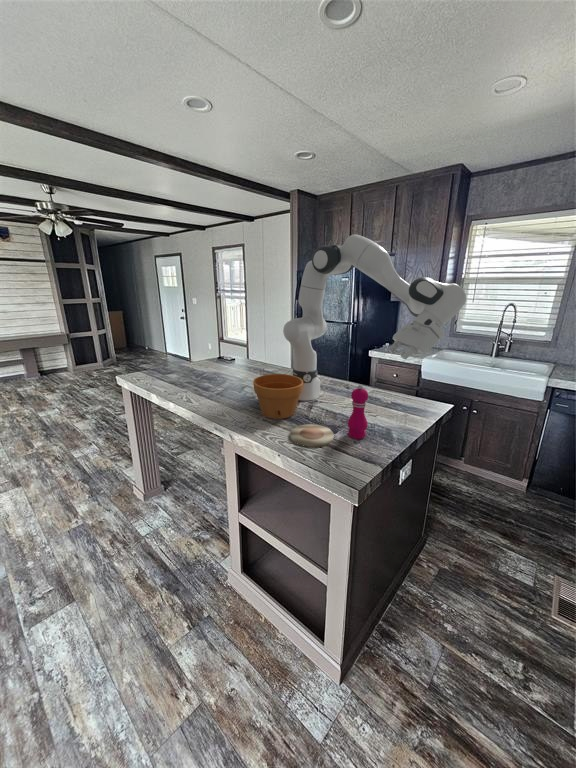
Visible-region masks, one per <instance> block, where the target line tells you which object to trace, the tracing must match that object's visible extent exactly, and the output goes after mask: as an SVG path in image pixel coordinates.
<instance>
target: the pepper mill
mask: <svg viewBox="0 0 576 768" xmlns="http://www.w3.org/2000/svg"><path fill="white" fill-rule="evenodd" d="M350 396H351V399H352V401H351V402H352V403H351V405H352V412H351V414H350V416H349V418H348V421H347V427H348V432H347V433H348V436H349V437H350V438H352V439H355V440H356V439H357V440H360V439H364V438H365V437H366V430H367V428H368V420H367V417H366V415H365V407H367V401H368V399H369V392H368V391H367V389H365V388H364V387H363V385H362V384H358V385H357V387H356V388H355V389H353V390H352V392H351V395H350Z"/></svg>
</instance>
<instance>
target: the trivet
mask: <svg viewBox="0 0 576 768" xmlns="http://www.w3.org/2000/svg"><path fill="white" fill-rule="evenodd" d="M289 433H290V434H289V435H290V436H291V437H290V440H291V439H292V440H293V441H294V442H293V441H292V440H291V441H292V442H293V443H295V442H296V443H298V444H300V445H299V446H301V445H304V446H303V447H305V446H309V447H308V448H320V446H322V447H325V446H327V445H330V444H332V442H333V441H334V437H335V436H334V432H333V431H332V429H330V428H329V427H326V426H324V425H320V424H310V423H309V424H308V423H307V424H300V425H298V426H296V427H294V428H293V429H292V430H291V431H290V432H289ZM296 443H295V444H296ZM298 444H297V445H298Z"/></svg>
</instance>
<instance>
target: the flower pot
mask: <svg viewBox="0 0 576 768" xmlns="http://www.w3.org/2000/svg"><path fill="white" fill-rule="evenodd" d="M252 382H253V389H254V390H253V391H254V393H255V394H256V397H257V400H258V403H259V408H260V412H261V414H262V415H263V417H266V418H269V419H272V418H273V420H281V419H283V420H284V419H287V418H290V417H292V416H294V414H295V413H296V409H297V405H298V402H299V400H298V399H299V395H300V394H301V393H302V389H303V380H302V379H301V378H299V377H296V376H293V374H284V373H270V374H269V373H267V374H264V375H260V376H257V377H255V378H254V379H253V381H252Z"/></svg>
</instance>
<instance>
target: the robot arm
mask: <svg viewBox="0 0 576 768" xmlns="http://www.w3.org/2000/svg"><path fill="white" fill-rule="evenodd" d="M353 268H356V269H357V270H359V271H360V272H362V273H363V274H365V275H366V276H368V277H369V278H371V279H372V280H374V281H375V282H377V283H378V284H379V285H381V286H382V287H384V288H385V289H386V290H387V291H389V292H390V293H391V294H393V295H394V296H395V297H396V298H397V299H399V300H400V301H401V302H402V303H403V304H404V305H405V306H406V307H407V310H408V311H409V313H410V314H411V315H412V316H413V317H415V318H414V319H413V320H412V322H411V323H410V324H408V323H407V324H405V325H403V326H402V327H401V328H400V329H399V330H397V332H396V333H394V334H393V336H392V340H393V341H394V342H393V343H392V345H391V347H390V348H389V350H388V351H389V353H390V354H392V355H394V354H395V353H397V351H398V349H399V348H400V347H401V346H402V347H404V348H407V350H406V351H404V352H402V354H400V357H401V358H402V359H403V360H407V359H409V357H411V356H413V355H415V354H416V353H417V352H418V353H421V354H425V353H427V352H429V351H430V350H431V349H433V347H434V346H436V345H437V343H438V342H439V340H442V339H443V338H445V336H446V334H445V332H444V331H443V330H442V329H443V328H444V326H445V325H446V323H447V322H449V321H450V320H452V319H453V318H454V317H455V316H456V315H457V314H458V313H459V311H460V310H461V309H462V308H463V307H464V306H465V304H466V303H467V302H466V301H467V294H466V293H465V291H464V289H463V288H462V287H461V286H460V285H459V284H457V283H443V282H439V281H437V280H434V279H433V278H431V277H427V276H424V277H423V276H421V277H419V278H416V279H414V280H413V281H412V282H411V284H409V283H408V282H407V281H406V280H404V279H403V278H402V277H401V276H400V275H399V274H398V273H397V271H396V268H395V265H394V264H393V261H392V257H391V256H390V254H389V253H388V251H387V250H385V248H384V247H382V246H381V245H380V244H379V243H377V242H376V241H374V240H372V239H370V238H367V237H366V236H362V235H360V234H351V235H349V236H348V237H347V238H346V239H345V240H344V242H343V243H342V244H341V245H337V244H328V245H322V246H319V247H317V248H316V249H315V250H314V252H313V253H312V257H311V260H310V261H308V262H307V263H306V265H305V268H304V270H303V273H302V277H301V283H300V287H299V294H298V295H299V296H298V301H297V302H298V304H299V306H300V307H301V309H302V310H301V311H302V317H297V318H293V319H290V320H289V321H287V322H285V324H284V326H283V336H284V338H285V339H286V341H287V342H289V343H290V346H291V349H292V353H293V368H292V376H296V377H299V378H301V379H302V380H303V389H302V393H301V394H300V395H299V399H298V401H302V402H303V401H305V402H307V401H313V400H317V399H318V398H320V397H322V396H323V397H324V392H322V391H321V380H320V378H318V368H317V363H318V362H317V361H318V360H317V357H318V356H317V351H316V350H314V348H313V346H312V341H313V340H315V339H319V338H320V337H322V336H323V335H325V334H326V332H327V329H328V325H327V321H326V320H325V318H324V312H323V311H324V310H323V307H324V306H323V305H324V300H325V299H324V298H325V294H326V293H325V292H326V287H327V283H328V279H329V277H330V276H338V275H344V274H347V273H349V272H350V271H352V270H354V269H353Z"/></svg>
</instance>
